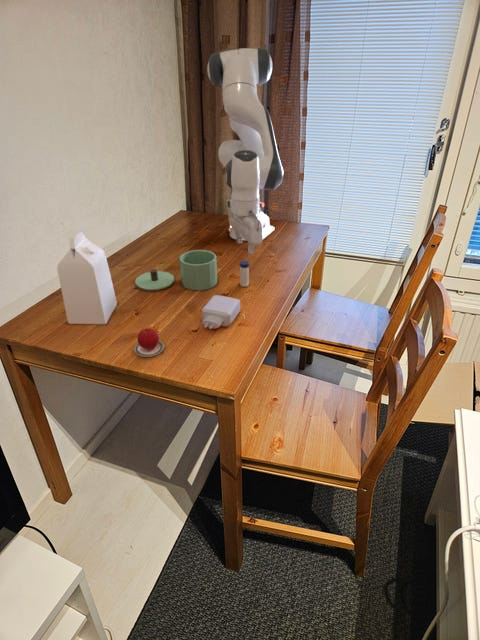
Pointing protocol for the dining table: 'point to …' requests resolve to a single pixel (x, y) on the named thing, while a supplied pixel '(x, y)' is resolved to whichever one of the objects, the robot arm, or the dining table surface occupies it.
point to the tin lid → (154, 280)
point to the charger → (220, 311)
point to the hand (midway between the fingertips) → (244, 247)
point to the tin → (198, 269)
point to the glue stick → (244, 273)
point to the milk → (86, 283)
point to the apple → (148, 343)
